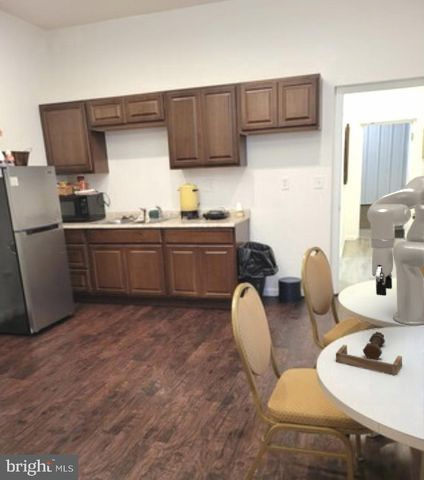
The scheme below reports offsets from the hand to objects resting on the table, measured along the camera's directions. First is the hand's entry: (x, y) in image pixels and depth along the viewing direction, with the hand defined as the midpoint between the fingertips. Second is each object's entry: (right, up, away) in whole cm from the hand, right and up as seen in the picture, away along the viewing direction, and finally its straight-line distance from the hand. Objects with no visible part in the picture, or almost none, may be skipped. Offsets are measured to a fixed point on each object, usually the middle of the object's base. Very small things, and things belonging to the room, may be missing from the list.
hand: (384, 291), depth 134 cm
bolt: (-5, -20, -5) cm, 21 cm away
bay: (-11, -22, -13) cm, 28 cm away
